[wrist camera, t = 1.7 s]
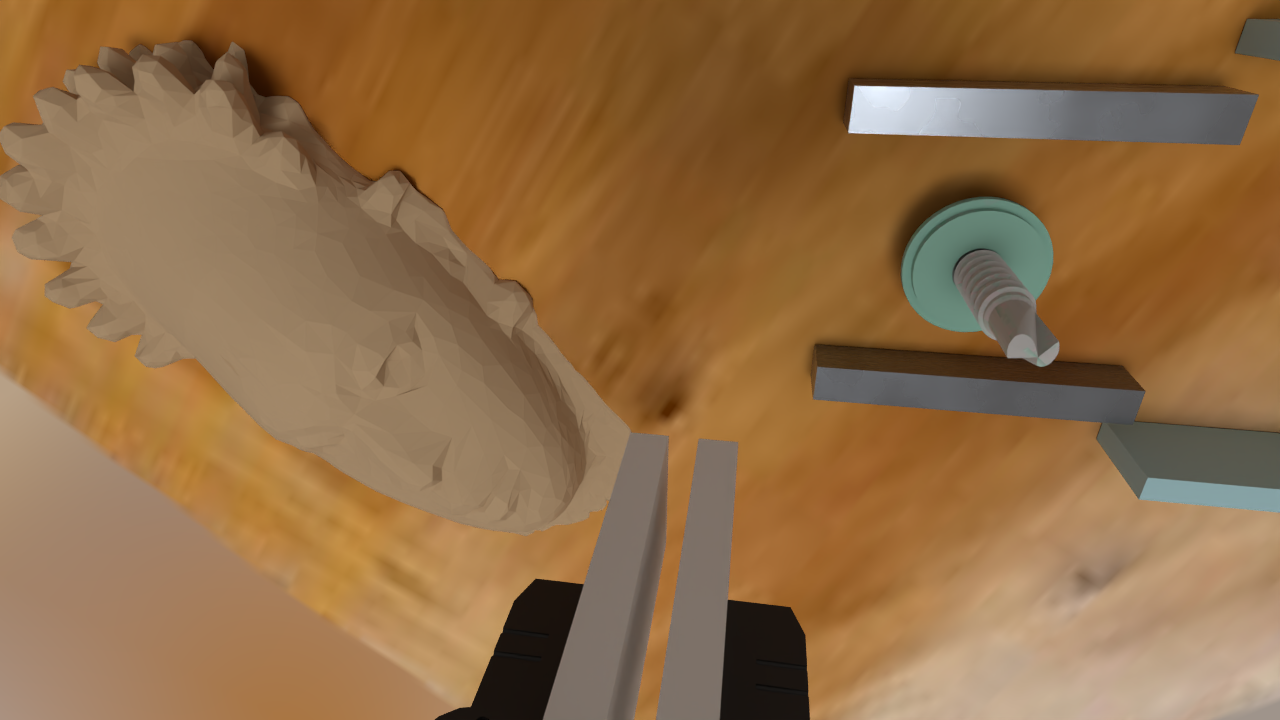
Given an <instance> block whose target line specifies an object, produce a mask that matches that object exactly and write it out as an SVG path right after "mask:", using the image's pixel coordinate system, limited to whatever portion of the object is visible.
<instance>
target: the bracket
mask: <svg viewBox="0 0 1280 720" xmlns="http://www.w3.org/2000/svg"><path fill="white" fill-rule="evenodd" d="M1235 53H1237V54H1243V55H1249V56H1255V57H1261V58H1267V59H1273V60H1279V61H1280V19H1247V21H1246V24H1245V26H1244V29H1243V32H1242V35H1241V38H1240V40H1239V43H1238V46H1237V49H1236V51H1235ZM1097 441H1098V442H1099V443H1100V445H1101V446H1102V448H1103V449H1104V451H1105V452H1106V453H1107V455H1108V456H1109V458H1110V459H1111V460H1112V462H1113V463H1114V465H1115V466H1116V468H1117V469H1118V470H1119V472H1120V473H1121V475H1122V476H1123V477H1124V479H1125V480H1126V482H1127V483H1128V485H1129V486H1130V487H1131V489H1132V490H1133V492H1134V493H1135V495H1136V496H1137V497H1138V499H1141V500H1151V501H1162V502H1173V503H1184V504H1194V505H1205V506H1216V507H1226V508H1237V509H1248V510H1259V511H1269V512H1280V433H1272V432H1259V431H1246V430H1234V429H1221V428H1209V427H1196V426H1184V425H1171V424H1159V423H1146V422H1134V423H1133V425H1126V424H1114V423H1102V425H1101V428H1100V431H1099V434H1098V436H1097Z"/></svg>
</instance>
